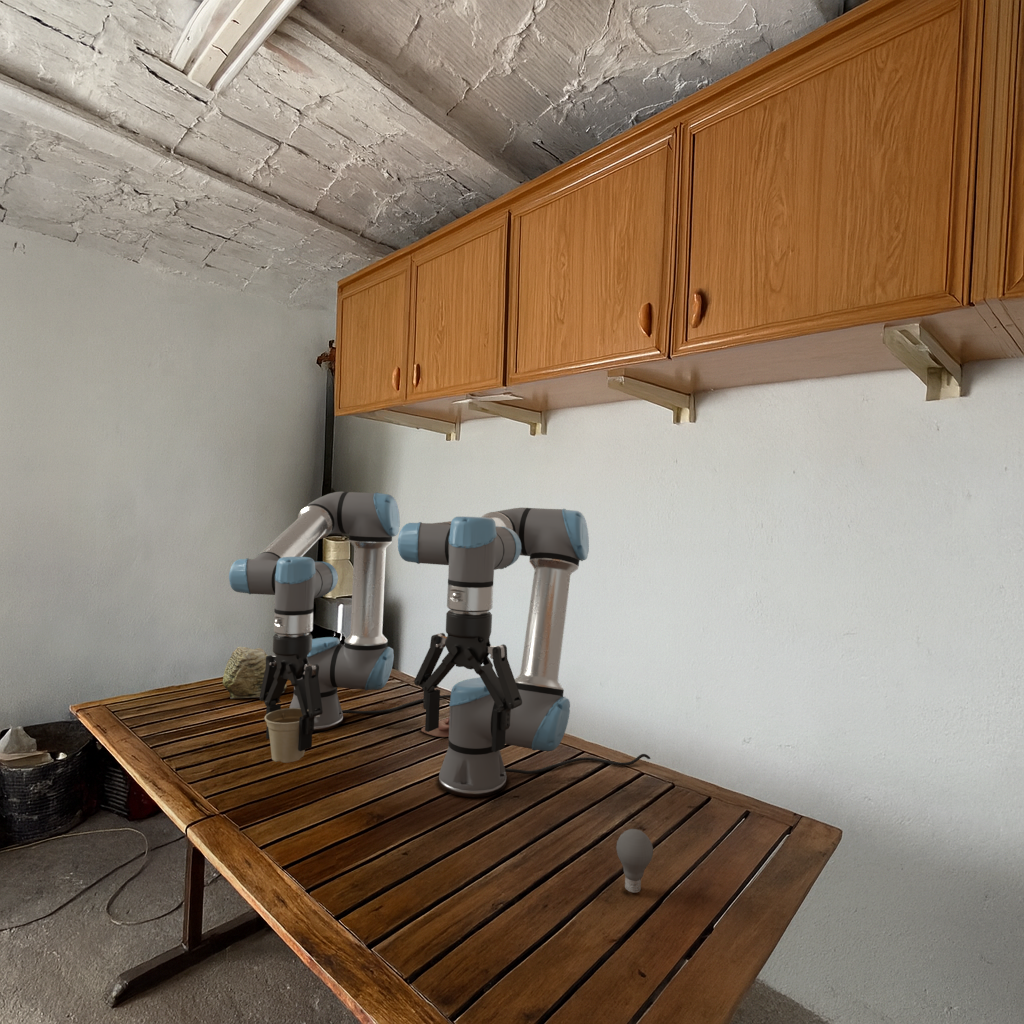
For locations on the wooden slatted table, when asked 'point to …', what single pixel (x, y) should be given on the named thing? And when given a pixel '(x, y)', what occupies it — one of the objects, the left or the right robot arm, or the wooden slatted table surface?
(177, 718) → the wooden slatted table surface
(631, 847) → the light bulb
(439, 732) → the anatomical model
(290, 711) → the plastic plant pot
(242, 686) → the fossil
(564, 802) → the wooden slatted table surface
